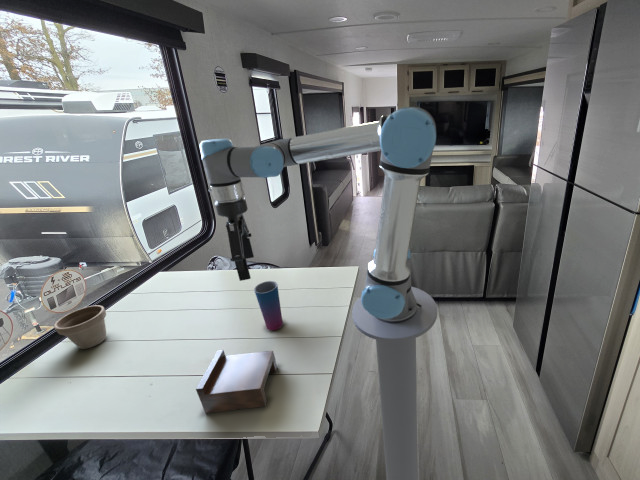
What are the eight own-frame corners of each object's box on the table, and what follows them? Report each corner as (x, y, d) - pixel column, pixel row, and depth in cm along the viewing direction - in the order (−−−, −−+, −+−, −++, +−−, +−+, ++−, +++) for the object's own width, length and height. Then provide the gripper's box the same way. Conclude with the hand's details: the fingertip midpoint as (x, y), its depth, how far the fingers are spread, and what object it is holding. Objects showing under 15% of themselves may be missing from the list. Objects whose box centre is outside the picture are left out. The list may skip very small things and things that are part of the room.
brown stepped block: (277, 367, 86) (271, 344, 82) (265, 406, 75) (258, 382, 71) (225, 372, 84) (217, 350, 81) (205, 413, 73) (195, 389, 70)
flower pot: (72, 339, 99) (57, 314, 95) (117, 324, 105) (105, 300, 102) (65, 361, 91) (49, 334, 87) (114, 343, 97) (101, 317, 93)
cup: (287, 327, 101) (279, 288, 95) (266, 335, 97) (256, 295, 92) (282, 316, 106) (274, 278, 100) (262, 323, 103) (252, 285, 97)
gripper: (221, 189, 93) (238, 252, 101) (204, 215, 71) (227, 293, 79) (248, 186, 95) (262, 248, 103) (240, 210, 73) (258, 286, 81)
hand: (247, 267), depth 91 cm, fingers open, 13 cm apart
